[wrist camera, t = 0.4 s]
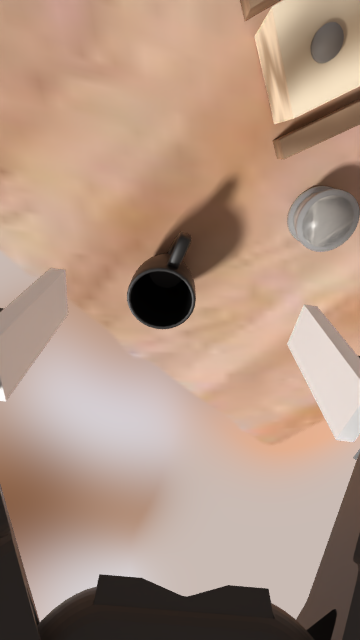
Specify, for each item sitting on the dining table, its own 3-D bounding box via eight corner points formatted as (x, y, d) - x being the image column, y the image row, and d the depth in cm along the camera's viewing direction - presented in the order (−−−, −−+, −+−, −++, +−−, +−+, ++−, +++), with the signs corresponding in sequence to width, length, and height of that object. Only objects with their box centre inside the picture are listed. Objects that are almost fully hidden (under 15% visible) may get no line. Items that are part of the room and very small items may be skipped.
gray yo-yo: (281, 200, 37) (290, 205, 34) (339, 175, 35) (355, 178, 32) (293, 250, 40) (303, 260, 37) (347, 230, 39) (362, 237, 35)
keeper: (254, 36, 29) (273, 3, 22) (325, -5, 27) (368, -53, 21) (274, 124, 33) (295, 117, 26) (338, 92, 31) (378, 77, 24)
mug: (215, 233, 39) (223, 255, 31) (180, 304, 45) (179, 338, 37) (160, 207, 38) (152, 223, 30) (131, 284, 43) (117, 315, 35)
